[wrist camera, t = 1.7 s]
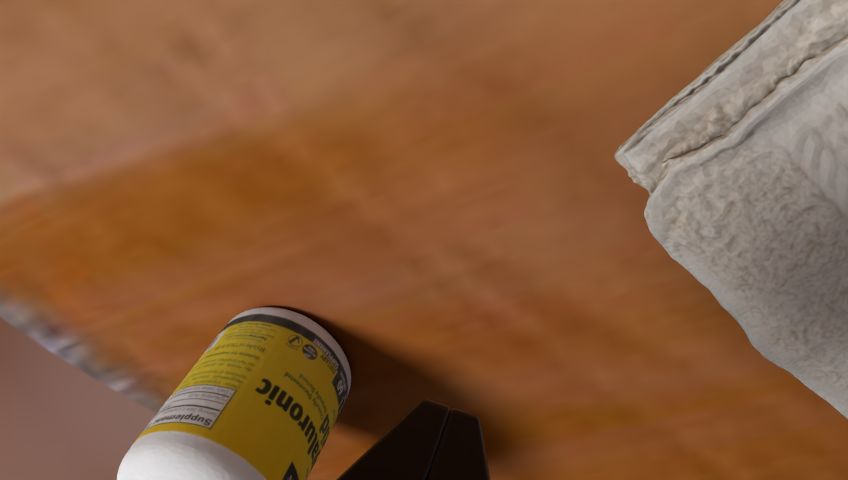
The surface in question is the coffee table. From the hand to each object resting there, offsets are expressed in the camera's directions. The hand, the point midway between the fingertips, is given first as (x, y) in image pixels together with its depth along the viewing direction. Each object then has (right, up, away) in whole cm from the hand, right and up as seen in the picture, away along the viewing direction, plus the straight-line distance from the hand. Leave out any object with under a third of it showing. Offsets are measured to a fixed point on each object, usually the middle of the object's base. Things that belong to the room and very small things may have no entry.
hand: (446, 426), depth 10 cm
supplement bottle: (-5, -2, +18) cm, 19 cm away
